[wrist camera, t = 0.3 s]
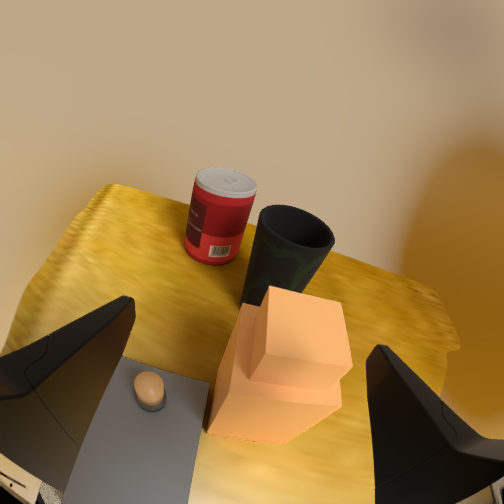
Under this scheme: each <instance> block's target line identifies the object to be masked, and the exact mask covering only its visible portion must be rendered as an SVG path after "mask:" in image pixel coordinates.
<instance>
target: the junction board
mask: <svg viewBox="0 0 504 504" xmlns="http://www.w3.org/2000/svg"><path fill="white" fill-rule="evenodd" d="M209 385H210V383H209V382H205V381H201V380H197V379H193V378H189V377H186V376H182V375H178V374H175V373H171V372H168V371H165V370H161V369H158V368H155V367H152V366H149V365H146V364H143V363H140V362H137V361H134V360H131V359H129V358H126V357H123V356H122V357H121V359H120V361H119V363H118V365H117V367H116V369H115V371H114V373H113V375H112V377H111V380H110V382H109V384H108V386H107V388H106V390H105V392H104V395H103V397H102V399H101V401H100V403H99V406H98V408H97V410H96V412H95V415H94V417H93V419H92V422H91V424H90V426H89V429H88V431H87V434H86V436H85V439H84V441H83V444H82V446H81V448H80V452H79V454H78V457H77V459H76V462H75V465H74V468H73V470H72V473H71V476H70V479H69V482H68V485H67V488H66V490H65V493H64V494H63V498H62V502H61V504H188V499H189V493H190V487H191V482H192V476H193V470H194V465H195V459H196V454H197V448H198V443H199V438H200V432H201V427H202V422H203V416H204V411H205V406H206V401H207V396H208V391H209Z"/></svg>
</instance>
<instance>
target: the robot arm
mask: <svg viewBox="0 0 504 504" xmlns="http://www.w3.org/2000/svg"><path fill="white" fill-rule="evenodd" d="M135 317H136V314H135V301H134V299H133V298H132V297H128V296H121V297H119V298H117V299H115V300H113V301H111V302H109V303H107V304H105V305H103V306H101V307H100V308H98V309H96V310H94V311H92V312H90V313H88V314H86V315H84V316H82V317H81V318H79V319H77V320H75V321H73V322H71V323H69V324H67V325H65V326H64V327H62V328H60V329H58V330H56V331H54V332H52V333H51V334H49V336H48V335H47V336H45V337H43V338H41V339H39V340H37V341H35V342H33V343H32V344H30V345H27V346H25V347H23V348H21V349H19V350H16V351H14V352H12V353H9V354H7V355H4V356H2V357H0V504H45V503H44V501H43V499H42V497H41V494H40V492H39V490H40V488H41V485H42V482H45V483H47V484H48V485H50V486H52V487H54V488H56V489H58V490H60V491H62V492H63V493H65V490H66V488H67V485H68V482H69V479H70V476H71V473H72V470H73V468H74V465H75V462H76V459H77V457H78V454H79V452H80V448H81V446H82V444H83V441H84V439H85V436H86V434H87V431H88V429H89V426H90V424H91V422H92V419H93V417H94V415H95V412H96V410H97V408H98V406H99V403H100V401H101V399H102V397H103V395H104V392H105V390H106V388H107V386H108V384H109V382H110V380H111V377H112V375H113V373H114V371H115V369H116V367H117V365H118V363H119V361H120V359H121V357H122V354H123V352H124V349H125V346H126V343H127V341H128V338H129V335H130V332H131V330H132V327H133V324H134V322H135ZM366 379H367V399H368V408H369V416H370V425H371V435H372V446H373V459H374V477H375V504H504V440H498V439H488V438H485V437H482V436H481V435H479V434H478V433H477V432H476V431H475V430H474V429H472V428H471V427H470V426H469V425H468V424H467V423H466V422H464V421H463V420H462V419H461V418H460V417H459V416H458V415H457V414H455V413H454V412H453V411H452V410H451V409H450V408H449V407H448V406H447V405H446V404H445V403H444V402H443V401H441V399H440V398H439V397H438V396H437V395H436V394H435V392H434V391H433V390H432V389H431V388H430V387H429V386H428V385H427V384H426V383H425V382H424V381H423V380H422V379H421V378H420V377H418V376H417V375H416V374H415V373H414V372H413V371H412V370H411V369H410V368H409V367H408V366H407V365H406V364H405V363H404V362H403V361H402V360H401V359H400V358H399V357H398V356H397V355H396V354H395V353H394V352H393V351H392V350H391V349H390V348H389V347H388V346H386V345H380V344H378V345H376V346H375V347H374V349H373V350H372V352H371V353H370V355H369V356H368V358H367V360H366Z"/></svg>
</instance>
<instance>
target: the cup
mask: <svg viewBox="0 0 504 504" xmlns="http://www.w3.org/2000/svg"><path fill="white" fill-rule="evenodd" d="M334 244H335V238H334V235H333V233H332V231H331V230H330V228H329V227H328V226H327V225H326V224H325V223H324V222H322V221H321V220H320V219H319V218H317V217H316V216H314V215H312V214H311V213H308V212H306V211H304V210H301V209H299V208H296V207H292V206H287V205H271V206H267V207H265V208H264V209H262V210H261V212H260V214H259V219H258V223H257V228H256V233H255V237H254V242H253V246H252V251H251V256H250V260H249V265H248V270H247V274H246V279H245V284H244V288H243V293H242V297H241V303H240V306H242V303H246V304H250V305H254V306H258V307H260V306H261V304H262V301H263V299H264V297H265V295H266V292H267V290H268V288H269V286H273V287H277V288H281V289H285V290H289V291H293V292H297V293H302V291H303V290H304V289H305V287H306V286H307V284H308V283H309V281H310V280H311V278H312V277H313V275H314V274H315V272H316V271H317V270H318V268H319V267H320V265H321V264H322V262H323V261H324V259H325V258H326V256H327V254H328V253H329V251H330V250H331V248H332V247H333V245H334Z"/></svg>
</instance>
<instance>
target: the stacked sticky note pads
mask: <svg viewBox="0 0 504 504" xmlns="http://www.w3.org/2000/svg"><path fill="white" fill-rule="evenodd" d="M352 367H353V365H352V359H351V353H350V347H349V341H348V336H347V331H346V325H345V320H344V315H343V310H342V306H341V303H340V302H335V301H331V300H327V299H322V298H318V297H314V296H310V295H306V294H301V293H297V292H293V291H289V290H285V289H281V288H277V287H273V286H269V288H268V290H267V292H266V295H265V297H264V299H263V301H262V304H261V306H260V307H258V306H254V305H250V304H246V303H242V306H241V309H240V311H239V314H238V317H237V320H236V322H235V325H234V328H233V331H232V333H231V336H230V339H229V341H228V344H227V347H226V350H225V352H224V355H223V358H222V360H221V363H220V366H219V368H218V373H217V378H216V384H215V389H214V394H213V400H212V406H211V411H210V417H209V422H208V428H207V433H208V434H213V435H218V436H224V437H230V438H236V439H242V440H249V441H257V442H266V443H276V444H284V443H286V442H288V441H289V440H291V439H293V438H294V437H296V436H298V435H299V434H301V433H303V432H304V431H306V430H308V429H309V428H311V427H312V426H314V425H315V424H317V423H318V422H320V421H321V420H323V419H324V418H326V417H327V416H329V415H330V414H332V413H333V412H335V411H336V410H337V409H339V408H340V407H342V399H341V389H340V380H339V379H341V378H342V377H343V376H344V375H345V374H346V373H347V372H348V371H349V370H350V369H351V368H352Z"/></svg>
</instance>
